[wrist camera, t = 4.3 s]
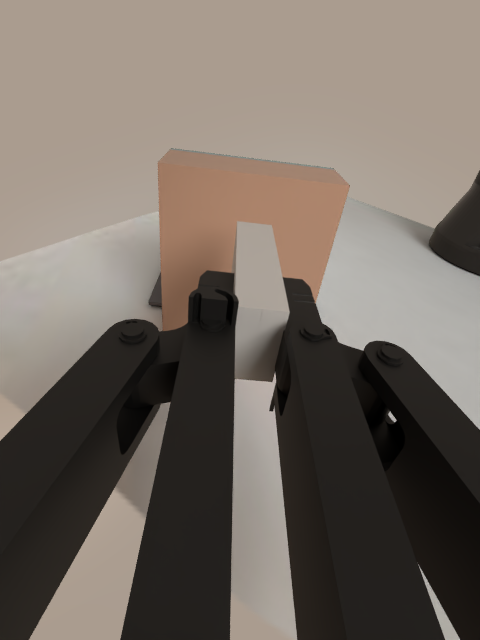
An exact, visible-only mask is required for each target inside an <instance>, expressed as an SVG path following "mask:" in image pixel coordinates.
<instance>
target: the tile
mask: <svg viewBox="0 0 480 640" xmlns="http://www.w3.org/2000/svg"><path fill="white" fill-rule="evenodd" d="M158 186H159V220H160V254H161V288H162V322H163V331H169V330H174V329H177V328H180V327H182V326H184V325H185V324H187V323H188V301H189V295H190V294H191V292H192V291H194V290H196V289H197V288H198V284H199V279H200V276H201V275H202V274H203V273H204V272H206V271H207V270H210V271H219V272H229V273H231V271H232V263H233V254H234V245H235V236H236V228H237V221H240V222H249V223H258V224H266V225H272V228H273V233H274V238H275V243H276V248H277V253H278V257H279V262H280V267H281V272H282V277H286V278H295V279H303V280H304V281H305V282H306V283H307V284H308V285H309V286H310V288H311V291H312V294H313V297H314V300H315V303H316V300H317V296H318V293H319V289H320V286H321V283H322V279H323V276H324V272H325V269H326V266H327V262H328V259H329V255H330V252H331V249H332V245H333V242H334V238H335V235H336V231H337V228H338V225H339V221H340V218H341V214H342V211H343V208H344V204H345V201H346V197H347V194H348V191H349V187H350V185H349V184H348V183H347V182H346V181H345V180H344V179H343V178H342V177H341V176H340V175H339V174H338V173H337V172H336V171H335V170H334V169H333V168H326V167H319V166H310V165H301V164H294V163H286V162H277V161H270V160H261V159H254V158H246V157H237V156H230V155H221V154H214V153H205V152H197V151H189V150H181V149H173V148H171V149H170V150H169V151H168V152H167V153H166V154H165V155H164V156H163V158H161V160H160V161H159V162H158Z"/></svg>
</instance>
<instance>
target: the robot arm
mask: <svg viewBox="0 0 480 640" xmlns="http://www.w3.org/2000/svg"><path fill="white" fill-rule="evenodd" d="M429 244H430V246H431V248H432V249H433V250H434V251H435V252H436V253H437V254H439V255H440V256H442V257H443V258H445V259H446V260H448V261H450V262H452V263H453V264H455V265H457V266H460V267H462V268H464V269H466V270H469V271H471V272H474V273H476V274H479V275H480V171H479V173H478V175H477V177H476V179H475V181H474V183H473V184H472V186H471V188H470V189H469V191H468V192H467V193H466V194H465V195H464V196H463V197H462V198H461V200H460V201H459V202H458V203H457V204H456V205H455V206H454V207H453V208H452V210H451V211H450V212H449V213H448V214H447V215H446V217H445V218H444V219H443V220H442V221H441V222H440V223H439V224H438V225H437V226H436V228H435V230H434V232H433V234H432V237H431V239H430V241H429ZM274 373H276V385H275V389H274V393H273V397H272V401H271V405H270V410H269V411H273V409H274V405H275V415H276V425H277V435H278V445H279V456H280V466H281V476H282V486H283V497H284V507H285V517H286V527H287V538H288V548H289V558H290V568H291V578H292V589H293V599H294V609H295V619H296V630H297V640H445V638H444V635H443V633H442V630H441V627H440V624H439V621H438V619H437V616H436V613H435V610H434V607H433V605H432V602H431V599H430V596H429V594H428V591H427V588H426V585H425V582H424V580H423V577H422V574H421V571H420V569H419V566H420V568H421V569H422V571H423V573H424V575H425V577H426V578H427V580H428V582H429V584H430V586H431V587H432V589H433V591H434V593H435V595H436V596H437V598H438V600H439V602H440V604H441V605H442V607H443V609H444V611H445V613H446V615H447V616H448V618H449V620H450V622H451V624H452V625H453V627H454V629H455V631H456V633H457V634H458V636H459V638H460V640H480V430H479V429H478V428H477V427H476V426H475V424H474V423H473V422H472V421H471V420H470V419H469V418H468V417H467V416H466V415H465V414H464V413H463V411H462V410H461V409H460V408H459V407H458V406H457V405H456V404H455V403H454V402H453V401H452V400H451V398H450V397H449V396H448V395H447V394H446V393H445V392H444V391H443V390H442V389H441V388H440V387H439V385H438V384H437V383H436V382H435V381H434V380H433V379H432V378H431V377H430V376H429V375H428V374H427V372H426V371H425V370H424V369H423V368H422V367H421V366H420V365H419V364H418V363H417V362H416V360H415V359H414V358H413V357H412V356H411V355H410V354H409V353H408V352H406V351H405V350H404V349H403V348H401V347H399V346H397V345H395V344H392V343H389V342H385V341H373V342H369V343H368V344H367V345H366V346H365V348H364V351H362V350H359V349H355V348H352V347H349V346H346V345H343V344H341V343H339V342H338V341H337V338H336V335H335V334H334V332H333V331H332V330H331V329H330V328H329V327H327V326H326V325H324V324H322V322H321V319H320V316H319V313H318V310H317V307H316V303H315V300H314V297H313V294H312V291H311V288H310V286H309V285H308V284H307V283H306V282H305V281H304V280H303V279H295V278H286V277H282V272H281V267H280V262H279V257H278V253H277V248H276V243H275V238H274V233H273V228H272V225H266V224H258V223H249V222H240V221H237V228H236V236H235V245H234V254H233V263H232V271H231V273H229V272H219V271H210V270H207V271H206V272H204V273H203V274H202V275H201V276H200V279H199V284H198V288H197V289H196V290H194V291H192V292H191V294H190V295H189V301H188V323H187V324H185V325H184V326H182V327H180V328H177V329H174V330H169V331H161V332H159V331H158V328H157V327H156V326H155V325H154V324H153V323H151V322H148V321H146V320H140V319H130V320H124V321H121V322H118V323H116V324H114V325H113V326H112V327H110V328H109V329H108V330H107V331H106V332H105V333H104V334H103V335H102V336H101V337H100V338H99V339H98V340H97V341H96V342H95V343H94V344H93V346H92V347H91V348H90V349H89V350H88V351H87V352H86V353H85V354H84V355H83V356H82V357H81V358H80V359H79V360H78V361H77V362H76V363H75V364H74V365H73V366H72V367H71V368H70V369H69V370H68V371H67V372H66V373H65V375H64V376H63V377H62V378H61V379H60V380H59V381H58V382H57V383H56V384H55V385H54V386H53V387H52V388H51V389H50V390H49V391H48V392H47V393H46V394H45V395H44V396H43V397H42V398H41V399H40V400H39V401H38V402H37V404H36V405H35V406H34V407H33V408H32V409H31V410H30V411H29V412H28V413H27V414H26V415H25V416H24V417H23V418H22V419H21V420H20V421H19V422H18V423H17V424H16V425H15V426H14V428H13V429H11V431H10V432H9V433H8V434H7V435H6V436H5V437H4V438H3V439H2V440H1V441H0V640H29V638H30V636H31V635H32V633H33V631H34V629H35V628H36V626H37V624H38V622H39V620H40V619H41V617H42V615H43V613H44V612H45V610H46V608H47V606H48V605H49V603H50V601H51V599H52V597H53V596H54V594H55V592H56V590H57V588H58V587H59V585H60V583H61V581H62V580H63V578H64V576H65V574H66V573H67V571H68V569H69V567H70V566H71V564H72V562H73V560H74V559H75V556H76V555H77V553H78V551H79V550H80V548H81V546H82V544H83V543H84V541H85V539H86V537H87V536H88V534H89V532H90V530H91V528H92V527H93V525H94V523H95V521H96V520H97V518H98V516H99V514H100V512H101V511H102V509H103V507H104V505H105V504H106V502H107V500H108V498H109V497H110V495H111V493H112V491H113V490H114V488H115V486H116V484H117V482H118V481H119V479H120V477H121V475H122V474H123V472H124V470H125V468H126V466H127V465H128V463H129V461H130V459H131V458H132V456H133V454H134V452H135V451H136V449H137V447H138V445H139V443H140V442H141V440H142V438H143V436H144V435H145V433H146V431H147V429H148V428H149V426H150V424H151V422H152V420H153V419H154V417H155V415H156V413H157V412H158V410H159V408H160V405H161V404H162V403H167V402H171V404H170V408H169V413H168V418H167V422H166V427H165V432H164V437H163V441H162V446H161V451H160V455H159V460H158V465H157V470H156V474H155V479H154V484H153V488H152V493H151V498H150V503H149V507H148V512H147V517H146V521H145V526H144V531H143V536H142V541H141V545H140V550H139V555H138V559H137V564H136V569H135V573H134V578H133V583H132V588H131V592H130V597H129V602H128V606H127V611H126V616H125V621H124V625H123V630H122V635H121V639H120V640H230V600H231V545H232V491H233V436H234V381H235V379H244V380H256V381H268V382H272V381H273V377H274ZM390 411H391V413H392V414H393V416H394V417H395V418H396V420H397V421H396V422H393V421H392V420H391V419H390V417H389V416H388V413H389V412H390ZM417 562H418V563H417ZM418 564H419V566H418Z"/></svg>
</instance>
